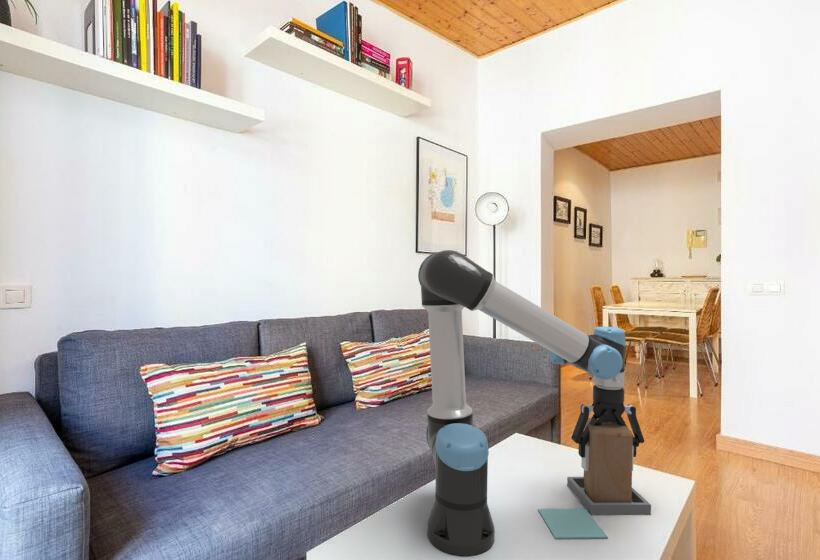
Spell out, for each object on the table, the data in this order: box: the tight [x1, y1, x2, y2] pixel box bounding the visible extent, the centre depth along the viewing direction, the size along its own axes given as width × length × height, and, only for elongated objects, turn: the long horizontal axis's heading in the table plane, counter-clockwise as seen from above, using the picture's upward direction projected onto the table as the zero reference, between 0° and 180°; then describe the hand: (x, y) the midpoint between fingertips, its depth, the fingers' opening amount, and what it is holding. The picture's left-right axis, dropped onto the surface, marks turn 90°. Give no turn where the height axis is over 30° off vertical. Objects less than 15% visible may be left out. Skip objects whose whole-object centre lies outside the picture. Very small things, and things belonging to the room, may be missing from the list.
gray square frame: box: [566, 476, 652, 516], centre depth 116 cm, size 15×15×2 cm
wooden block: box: [583, 417, 634, 503], centre depth 116 cm, size 10×10×20 cm
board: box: [537, 507, 609, 540], centre depth 105 cm, size 12×12×1 cm
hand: (606, 468), depth 116 cm, fingers open, 11 cm apart
